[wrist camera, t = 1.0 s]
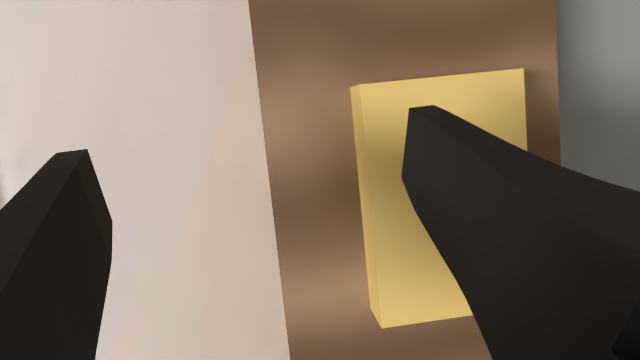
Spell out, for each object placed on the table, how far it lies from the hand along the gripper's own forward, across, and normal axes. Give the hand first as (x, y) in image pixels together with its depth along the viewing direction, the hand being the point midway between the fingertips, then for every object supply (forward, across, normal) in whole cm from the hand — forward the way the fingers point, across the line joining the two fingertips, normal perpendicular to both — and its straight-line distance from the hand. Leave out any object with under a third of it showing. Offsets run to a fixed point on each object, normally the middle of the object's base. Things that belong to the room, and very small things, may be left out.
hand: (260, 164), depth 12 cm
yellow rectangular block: (+5, -7, +6) cm, 11 cm away
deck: (+8, -7, +8) cm, 14 cm away
